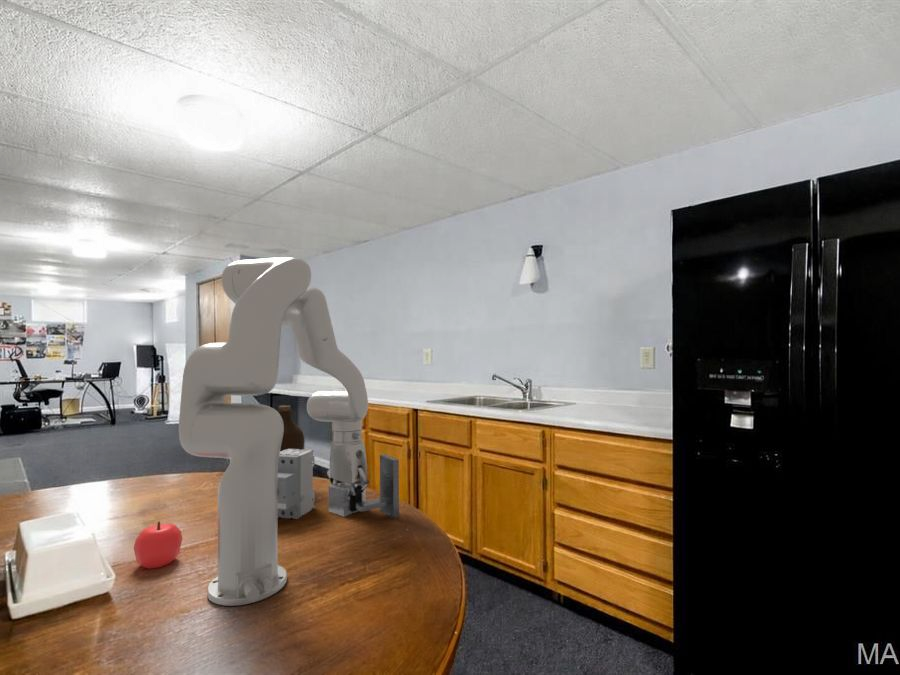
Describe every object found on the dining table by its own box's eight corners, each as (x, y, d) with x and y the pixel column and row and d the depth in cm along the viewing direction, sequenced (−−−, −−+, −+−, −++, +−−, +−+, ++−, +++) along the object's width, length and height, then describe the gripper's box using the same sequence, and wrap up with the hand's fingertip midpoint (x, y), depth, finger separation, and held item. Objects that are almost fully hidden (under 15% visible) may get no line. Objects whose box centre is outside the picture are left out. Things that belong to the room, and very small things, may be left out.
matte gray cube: (343, 516, 112) (343, 490, 112) (328, 511, 115) (328, 486, 116) (366, 508, 117) (366, 483, 117) (351, 503, 121) (351, 479, 121)
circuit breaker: (253, 526, 106) (253, 461, 106) (288, 505, 120) (288, 448, 120) (281, 529, 104) (281, 463, 105) (314, 507, 118) (314, 449, 118)
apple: (134, 560, 89) (134, 519, 89) (181, 550, 94) (181, 511, 94) (132, 577, 83) (133, 533, 83) (183, 565, 87) (183, 523, 87)
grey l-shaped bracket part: (399, 517, 111) (398, 459, 111) (365, 526, 106) (364, 465, 106) (385, 509, 116) (385, 454, 117) (352, 517, 111) (352, 459, 112)
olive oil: (305, 497, 127) (305, 407, 127) (264, 502, 123) (264, 409, 123) (302, 486, 136) (302, 402, 137) (264, 491, 132) (264, 404, 133)
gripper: (380, 438, 114) (381, 510, 114) (338, 430, 125) (338, 496, 125) (357, 443, 108) (357, 519, 108) (314, 434, 119) (314, 504, 119)
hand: (347, 506), depth 116 cm, fingers closed on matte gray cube, 6 cm apart
